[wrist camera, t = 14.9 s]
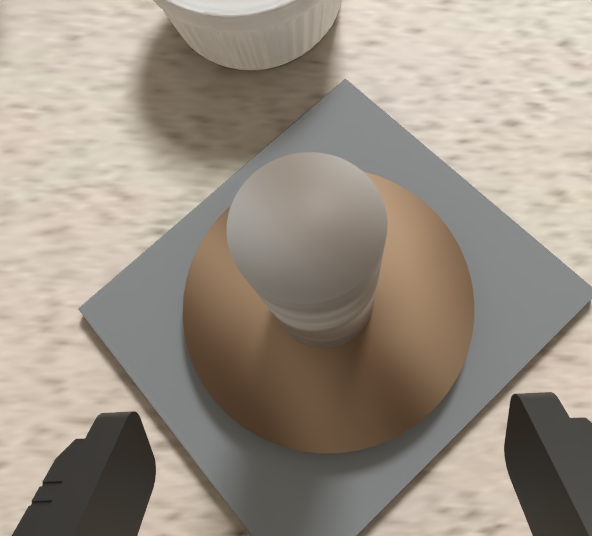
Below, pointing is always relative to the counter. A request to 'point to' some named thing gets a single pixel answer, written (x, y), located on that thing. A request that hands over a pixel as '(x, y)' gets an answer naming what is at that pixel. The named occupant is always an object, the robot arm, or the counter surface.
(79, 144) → the counter surface
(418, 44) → the counter surface
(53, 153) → the counter surface
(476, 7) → the counter surface
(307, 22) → the ramekin
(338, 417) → the lid
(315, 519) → the mat
